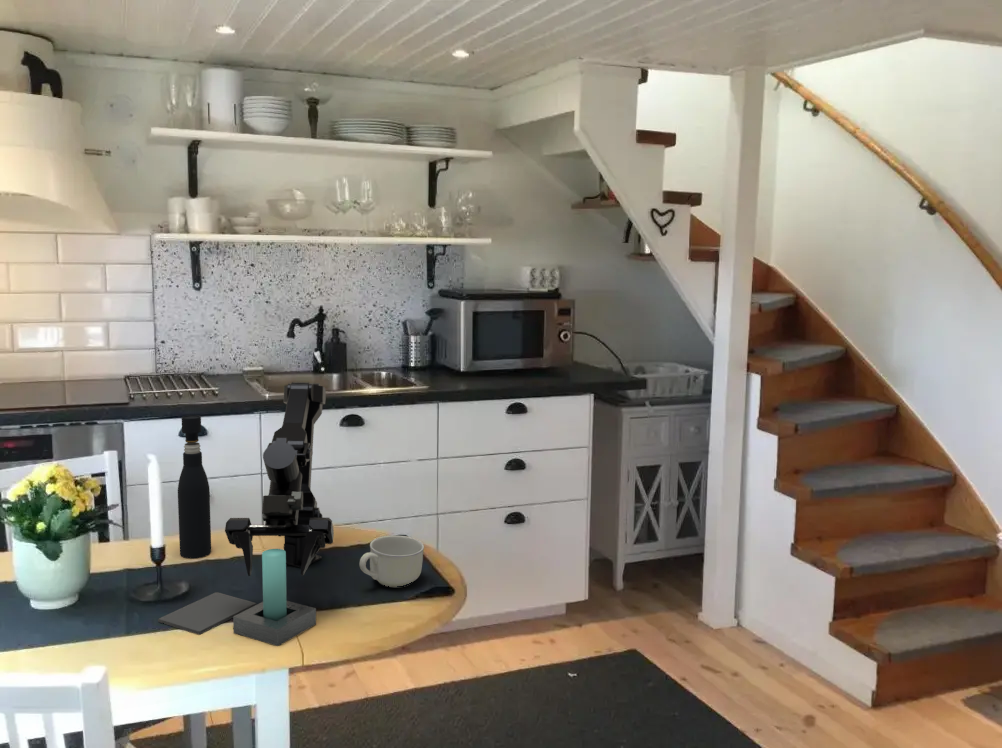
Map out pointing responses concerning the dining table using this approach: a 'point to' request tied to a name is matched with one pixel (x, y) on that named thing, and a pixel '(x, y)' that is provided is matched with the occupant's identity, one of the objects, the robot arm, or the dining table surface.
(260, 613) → the socket block
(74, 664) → the dining table surface
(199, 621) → the rubber pad
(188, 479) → the black bottle
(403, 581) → the teacup
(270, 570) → the teal peg
